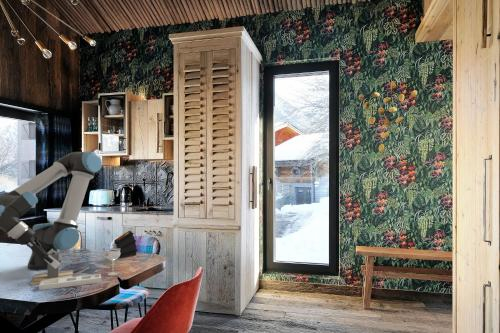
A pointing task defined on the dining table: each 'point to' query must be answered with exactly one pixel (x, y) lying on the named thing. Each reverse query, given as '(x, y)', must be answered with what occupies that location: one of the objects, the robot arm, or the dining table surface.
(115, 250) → the wineglass
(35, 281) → the oak board
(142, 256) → the dining table surface
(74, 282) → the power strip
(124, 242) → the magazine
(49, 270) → the gray knobbed block
